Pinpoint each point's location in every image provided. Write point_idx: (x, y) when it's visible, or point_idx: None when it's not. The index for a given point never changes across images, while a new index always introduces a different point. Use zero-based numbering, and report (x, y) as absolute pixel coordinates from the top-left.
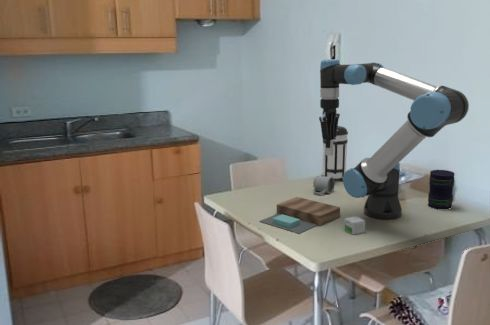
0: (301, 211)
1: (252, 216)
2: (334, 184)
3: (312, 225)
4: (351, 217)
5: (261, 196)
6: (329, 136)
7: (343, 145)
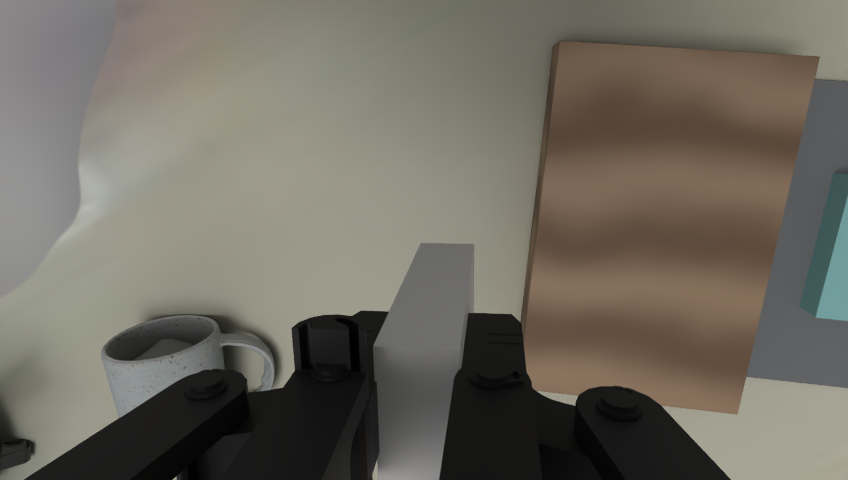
0: (780, 217)
1: (831, 466)
2: (121, 333)
3: (817, 96)
4: None
5: None
6: (537, 429)
7: None
